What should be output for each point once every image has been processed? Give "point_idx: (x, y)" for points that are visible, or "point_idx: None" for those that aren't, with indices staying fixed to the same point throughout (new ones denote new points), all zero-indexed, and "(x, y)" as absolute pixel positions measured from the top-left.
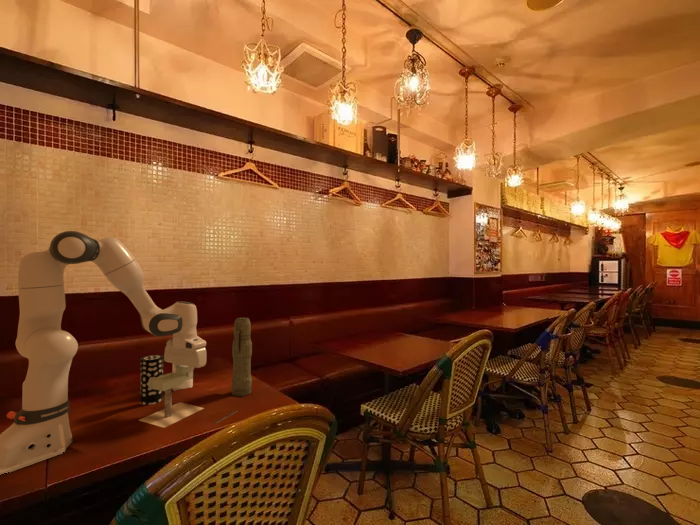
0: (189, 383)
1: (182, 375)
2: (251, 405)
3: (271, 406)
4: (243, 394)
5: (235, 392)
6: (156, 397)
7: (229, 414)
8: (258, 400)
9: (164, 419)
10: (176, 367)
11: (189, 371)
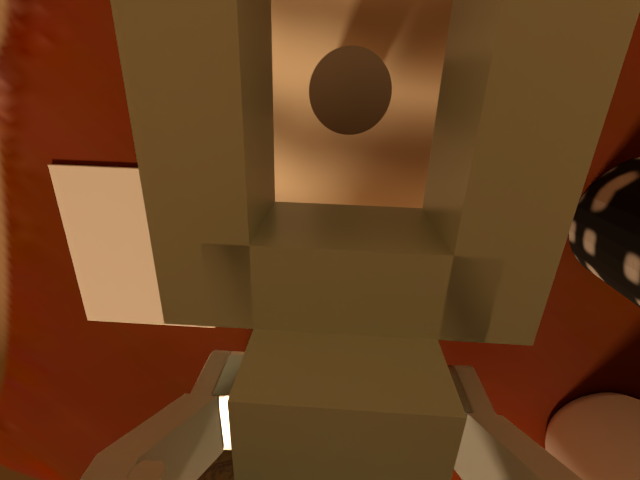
0: (563, 463)
1: (202, 288)
2: (93, 385)
3: (9, 403)
4: None
5: None
6: (620, 226)
7: (81, 274)
8: (113, 431)
9: (322, 37)
10: (521, 465)
11: (159, 412)
